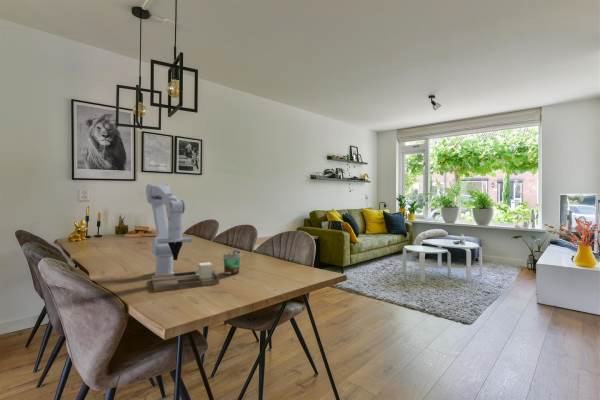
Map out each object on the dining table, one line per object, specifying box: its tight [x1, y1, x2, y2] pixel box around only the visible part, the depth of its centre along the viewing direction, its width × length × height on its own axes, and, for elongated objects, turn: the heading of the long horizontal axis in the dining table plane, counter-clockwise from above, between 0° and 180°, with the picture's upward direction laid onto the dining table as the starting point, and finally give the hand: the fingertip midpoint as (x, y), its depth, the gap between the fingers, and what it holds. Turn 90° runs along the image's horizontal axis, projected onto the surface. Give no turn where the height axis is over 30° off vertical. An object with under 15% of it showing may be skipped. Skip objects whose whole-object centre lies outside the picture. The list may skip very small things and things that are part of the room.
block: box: [198, 261, 213, 277], centre depth 139 cm, size 5×5×5 cm
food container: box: [222, 249, 243, 276], centre depth 150 cm, size 12×6×10 cm, turn 168°
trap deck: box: [150, 268, 220, 293], centre depth 135 cm, size 18×25×4 cm
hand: (175, 259), depth 136 cm, fingers closed
